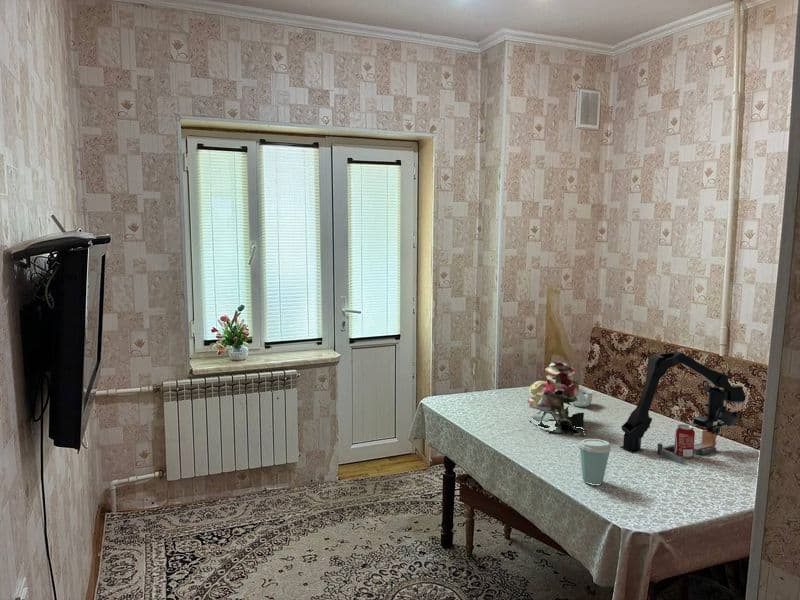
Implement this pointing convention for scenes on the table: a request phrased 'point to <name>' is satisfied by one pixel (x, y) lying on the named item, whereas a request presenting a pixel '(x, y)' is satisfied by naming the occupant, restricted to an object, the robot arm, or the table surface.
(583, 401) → the teacup
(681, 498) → the table surface
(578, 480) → the table surface
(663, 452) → the press fence
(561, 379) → the rose bouquet
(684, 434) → the soda can
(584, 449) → the disposable coffee cup
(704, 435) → the brown boxy piece
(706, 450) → the ram guide
